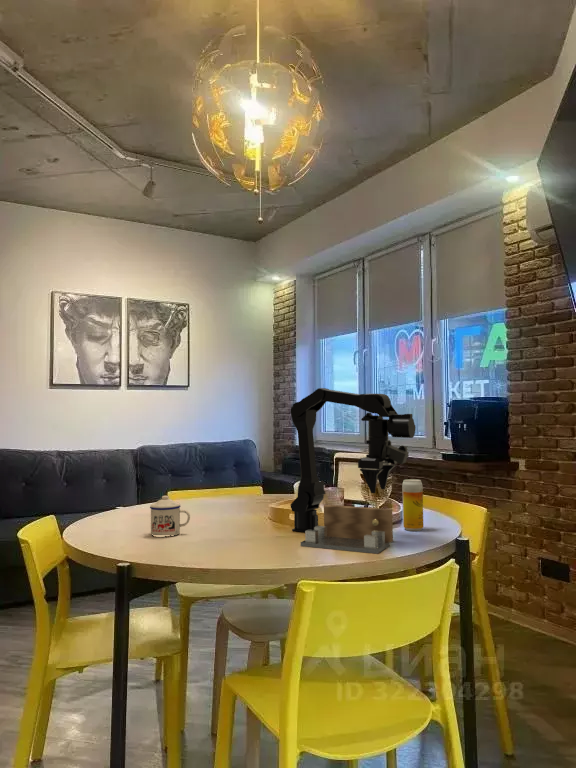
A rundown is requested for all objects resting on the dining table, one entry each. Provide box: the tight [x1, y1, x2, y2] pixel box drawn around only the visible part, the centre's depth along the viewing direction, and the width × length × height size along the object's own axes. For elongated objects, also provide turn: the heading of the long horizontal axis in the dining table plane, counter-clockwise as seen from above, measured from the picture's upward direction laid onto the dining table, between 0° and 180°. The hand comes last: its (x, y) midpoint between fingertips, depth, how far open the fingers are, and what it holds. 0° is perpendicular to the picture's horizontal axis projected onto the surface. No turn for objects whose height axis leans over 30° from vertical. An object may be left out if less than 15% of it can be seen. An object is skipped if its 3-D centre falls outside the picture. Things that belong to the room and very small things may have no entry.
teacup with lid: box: [149, 495, 191, 536], centre depth 179 cm, size 12×9×12 cm
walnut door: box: [323, 504, 394, 543], centre depth 169 cm, size 20×3×9 cm, turn 63°
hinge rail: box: [300, 525, 390, 554], centre depth 161 cm, size 22×10×4 cm, turn 63°
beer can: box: [401, 478, 424, 532], centre depth 182 cm, size 6×6×15 cm
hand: (378, 491), depth 170 cm, fingers open, 9 cm apart
